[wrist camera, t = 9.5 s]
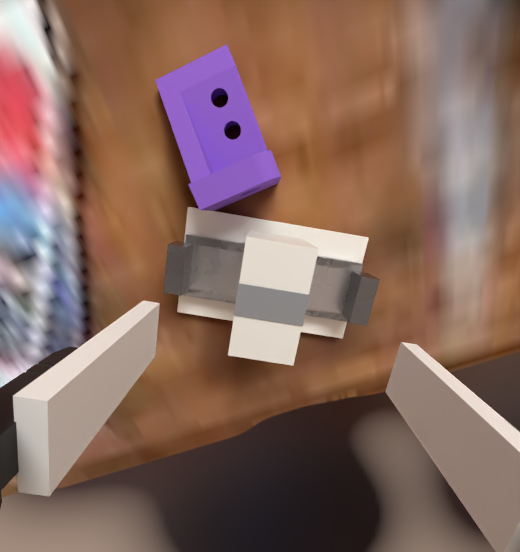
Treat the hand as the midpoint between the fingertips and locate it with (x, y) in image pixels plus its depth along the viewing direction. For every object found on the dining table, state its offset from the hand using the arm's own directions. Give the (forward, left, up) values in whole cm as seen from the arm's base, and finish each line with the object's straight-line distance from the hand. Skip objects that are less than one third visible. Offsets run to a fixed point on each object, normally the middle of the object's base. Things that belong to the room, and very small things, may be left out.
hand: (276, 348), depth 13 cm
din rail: (0, 0, -16) cm, 16 cm away
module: (0, 0, -14) cm, 14 cm away
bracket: (-7, +12, -17) cm, 22 cm away
